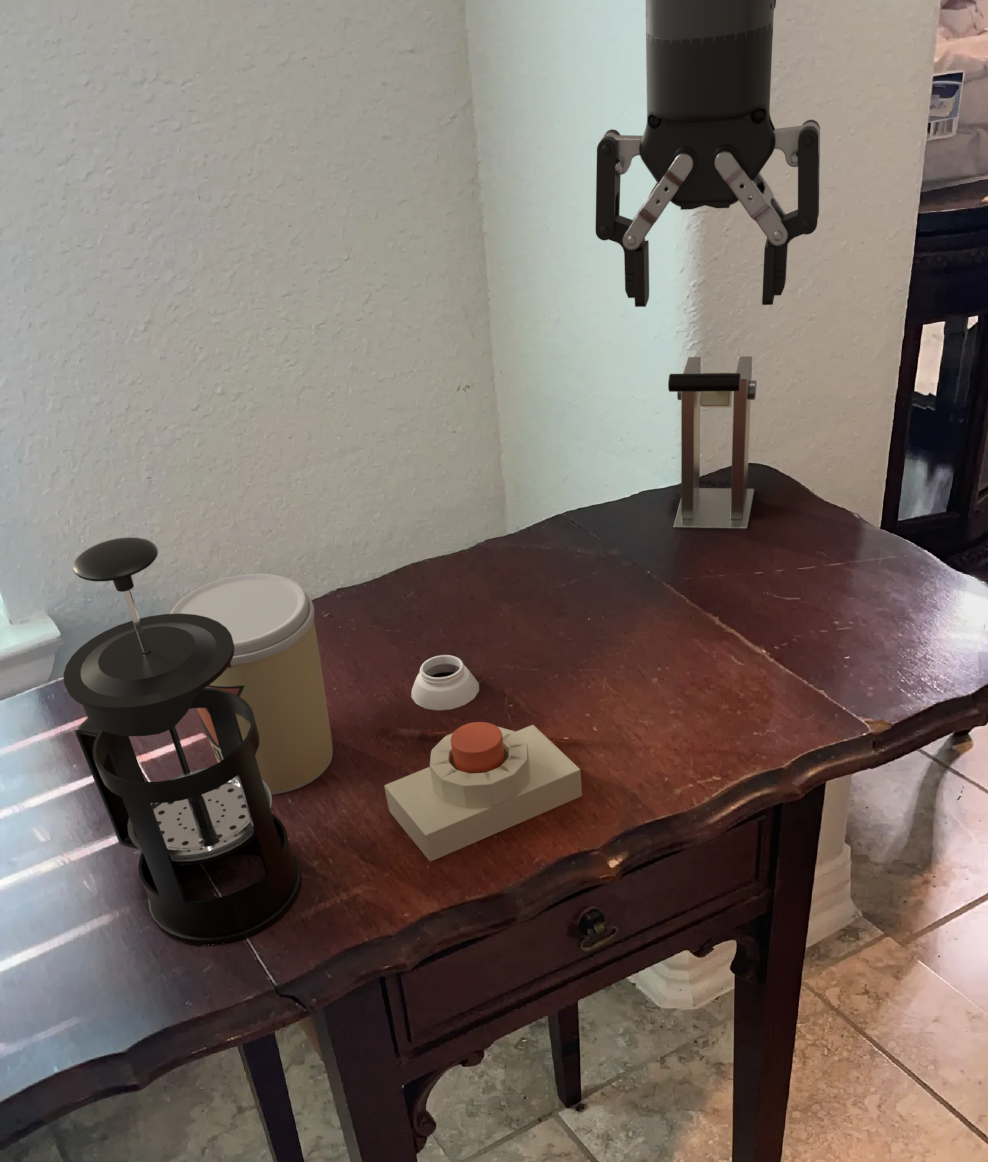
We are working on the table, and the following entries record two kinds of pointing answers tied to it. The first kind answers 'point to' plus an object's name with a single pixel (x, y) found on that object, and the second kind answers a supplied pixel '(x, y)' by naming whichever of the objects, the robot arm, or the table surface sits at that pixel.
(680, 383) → the lever
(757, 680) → the table surface
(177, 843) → the french press
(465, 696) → the white jar
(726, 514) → the switch bracket
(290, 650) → the beige canister with lid
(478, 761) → the button
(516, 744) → the button base
